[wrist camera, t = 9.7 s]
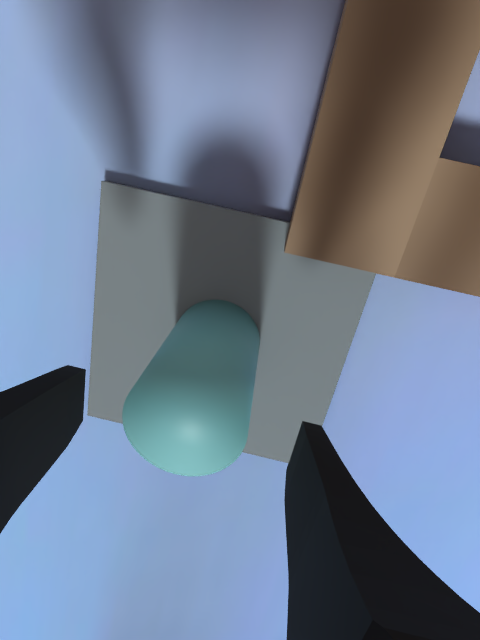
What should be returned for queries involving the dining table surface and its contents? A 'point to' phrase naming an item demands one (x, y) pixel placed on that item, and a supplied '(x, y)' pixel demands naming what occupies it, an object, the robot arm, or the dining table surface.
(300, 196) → the holder block
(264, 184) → the dining table surface
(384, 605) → the robot arm
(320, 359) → the slate mat
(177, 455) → the peg
